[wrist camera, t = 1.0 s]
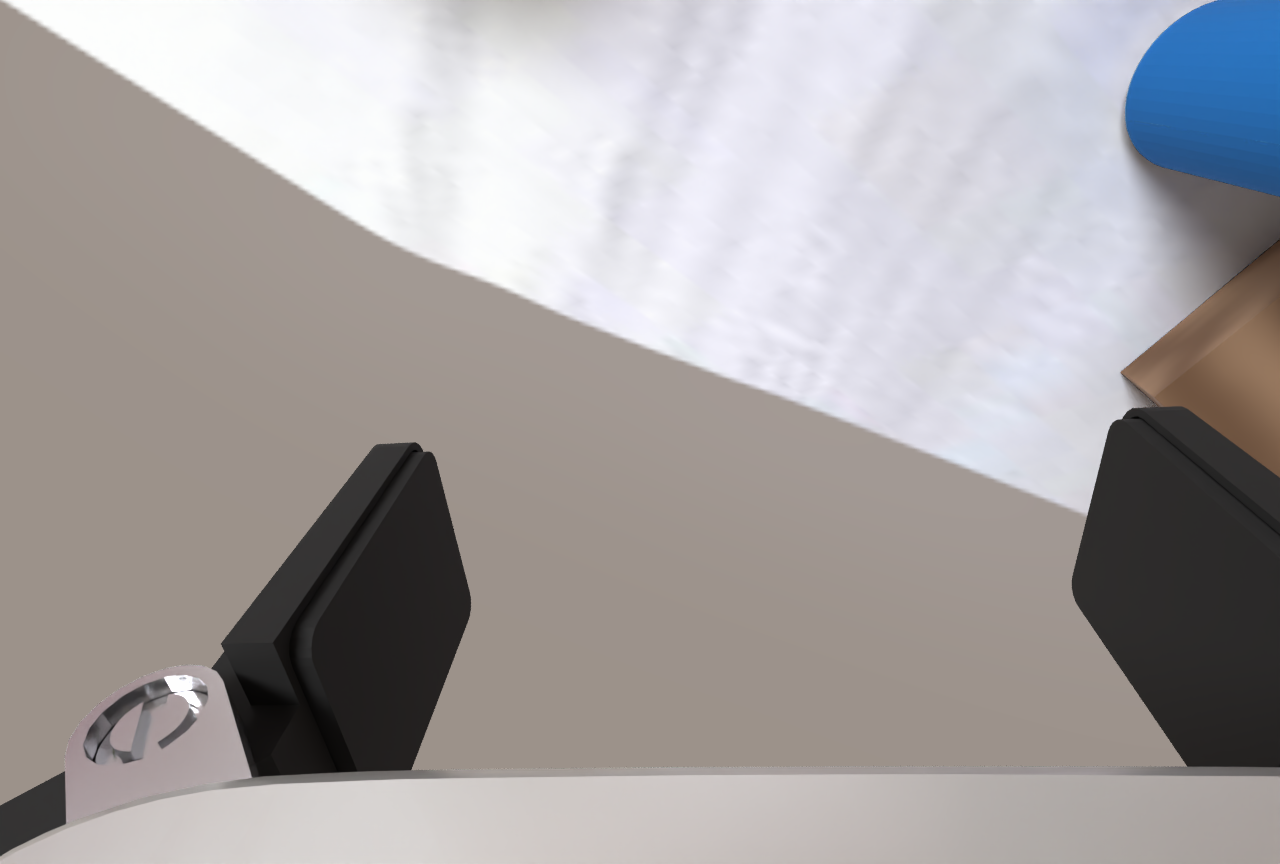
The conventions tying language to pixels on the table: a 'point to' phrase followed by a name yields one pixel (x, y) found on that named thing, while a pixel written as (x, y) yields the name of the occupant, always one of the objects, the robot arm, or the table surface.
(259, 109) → the table surface
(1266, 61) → the beverage can
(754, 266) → the table surface
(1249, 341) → the walnut board
